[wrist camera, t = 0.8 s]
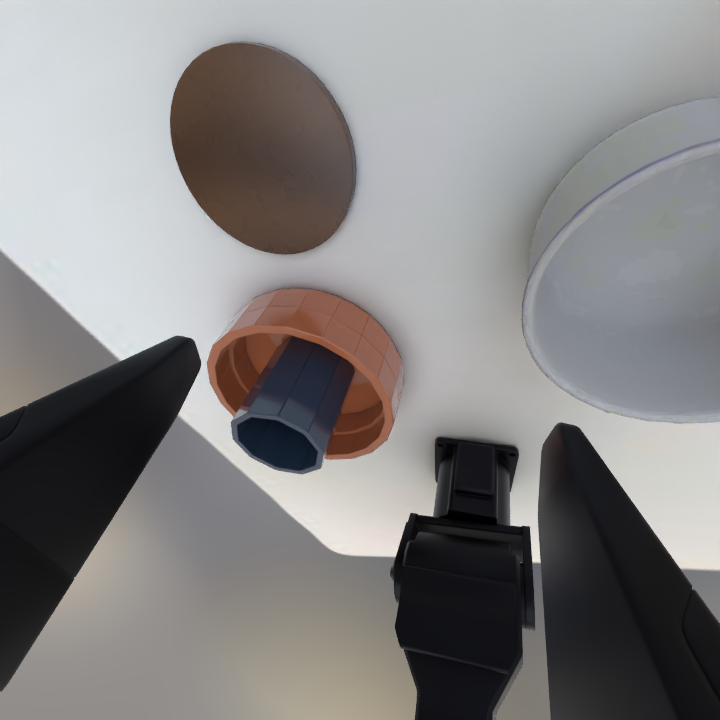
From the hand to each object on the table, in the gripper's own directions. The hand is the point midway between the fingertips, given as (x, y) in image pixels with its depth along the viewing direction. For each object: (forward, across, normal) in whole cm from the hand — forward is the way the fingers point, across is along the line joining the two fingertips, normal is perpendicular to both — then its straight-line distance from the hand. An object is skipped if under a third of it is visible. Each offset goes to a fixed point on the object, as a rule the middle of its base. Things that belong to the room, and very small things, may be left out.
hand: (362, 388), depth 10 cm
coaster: (+14, +9, 0) cm, 17 cm away
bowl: (+14, +6, +14) cm, 21 cm away
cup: (+14, +6, +14) cm, 20 cm away
